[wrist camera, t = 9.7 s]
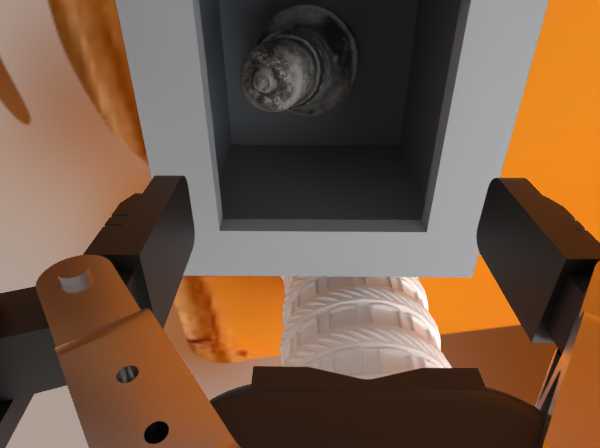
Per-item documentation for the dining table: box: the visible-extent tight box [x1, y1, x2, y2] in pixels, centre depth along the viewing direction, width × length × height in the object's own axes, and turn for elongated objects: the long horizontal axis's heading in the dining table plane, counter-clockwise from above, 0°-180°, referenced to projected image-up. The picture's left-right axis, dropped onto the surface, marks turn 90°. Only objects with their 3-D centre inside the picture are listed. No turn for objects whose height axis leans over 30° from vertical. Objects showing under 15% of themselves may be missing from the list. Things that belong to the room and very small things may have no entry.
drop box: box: [115, 0, 549, 277], centre depth 22 cm, size 14×14×14 cm
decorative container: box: [279, 276, 451, 379], centre depth 29 cm, size 12×12×18 cm
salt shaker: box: [240, 4, 359, 116], centre depth 22 cm, size 6×6×12 cm
